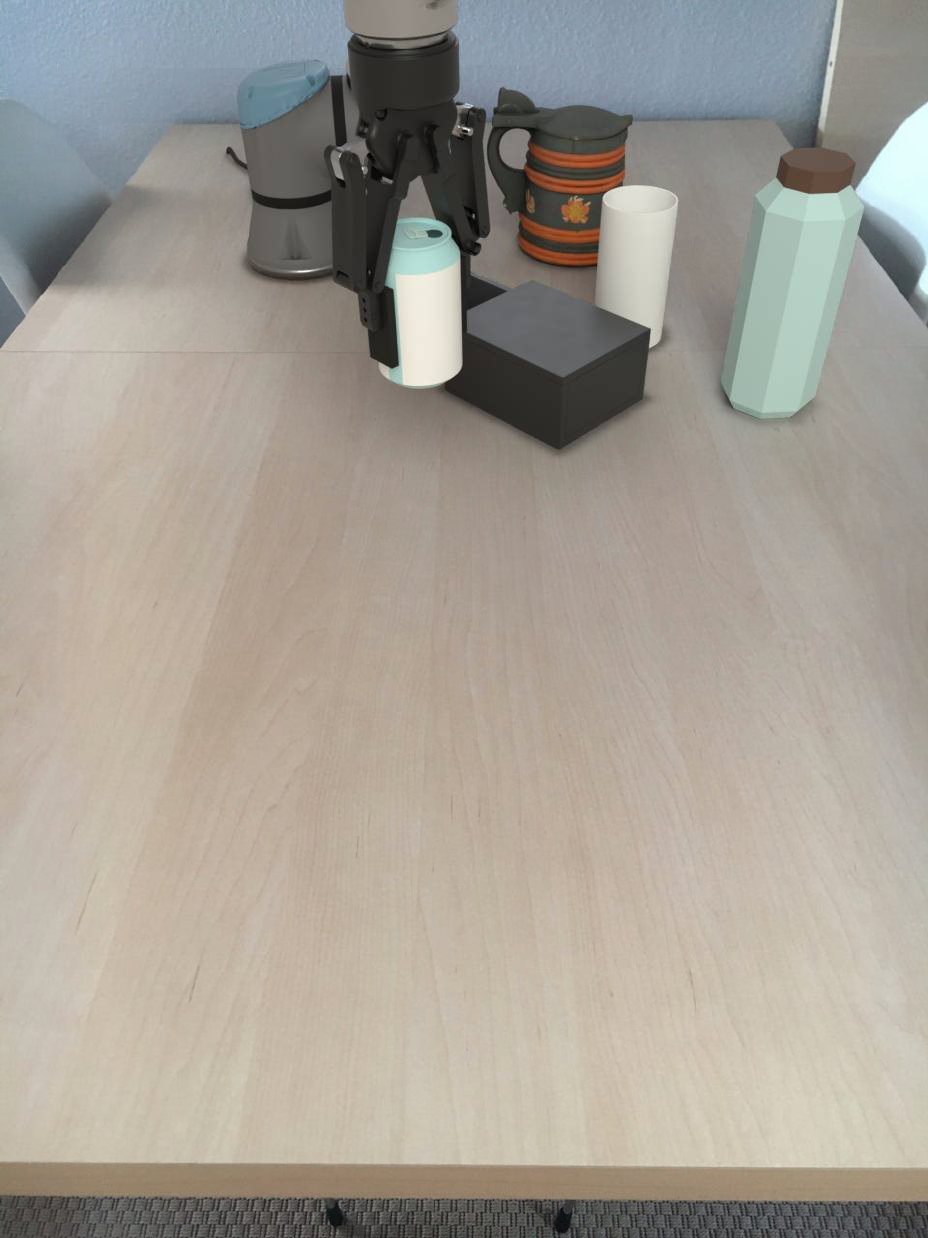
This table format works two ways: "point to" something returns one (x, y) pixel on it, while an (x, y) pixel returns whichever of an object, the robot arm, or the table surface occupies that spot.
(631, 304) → the cup
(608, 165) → the beer stein
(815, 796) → the table surface
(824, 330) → the water bottle
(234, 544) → the table surface
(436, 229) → the can
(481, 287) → the drawer
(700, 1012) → the table surface
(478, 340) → the cabinet
